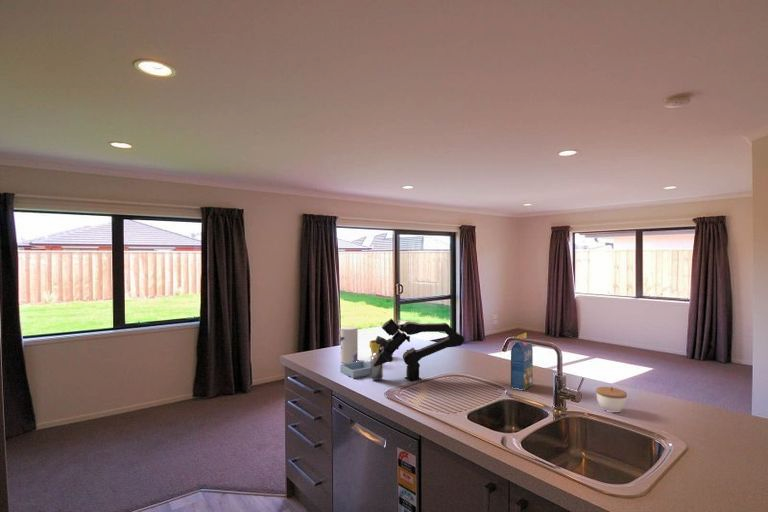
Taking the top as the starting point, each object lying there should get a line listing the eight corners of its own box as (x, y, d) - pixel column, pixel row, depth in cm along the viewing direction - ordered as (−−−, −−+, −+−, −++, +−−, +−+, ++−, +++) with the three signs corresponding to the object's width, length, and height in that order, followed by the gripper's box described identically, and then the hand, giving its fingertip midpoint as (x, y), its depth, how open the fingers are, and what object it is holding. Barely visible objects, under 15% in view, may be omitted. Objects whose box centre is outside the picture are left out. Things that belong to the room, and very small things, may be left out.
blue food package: (510, 388, 183) (510, 335, 183) (520, 382, 193) (520, 331, 193) (523, 391, 179) (523, 337, 179) (532, 384, 189) (532, 333, 189)
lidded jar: (611, 416, 151) (611, 392, 151) (590, 406, 161) (590, 384, 161) (633, 413, 154) (633, 390, 154) (611, 404, 164) (611, 381, 164)
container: (338, 360, 233) (338, 326, 233) (354, 358, 237) (354, 325, 237) (343, 364, 224) (343, 329, 224) (360, 362, 228) (360, 328, 228)
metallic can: (384, 377, 195) (384, 352, 195) (374, 380, 192) (374, 354, 192) (378, 374, 200) (378, 350, 200) (368, 376, 197) (368, 352, 197)
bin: (376, 374, 206) (376, 366, 206) (353, 378, 198) (353, 371, 198) (362, 367, 217) (362, 360, 217) (340, 372, 209) (340, 364, 209)
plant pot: (386, 359, 234) (386, 343, 234) (369, 359, 234) (369, 343, 234) (386, 355, 244) (386, 339, 244) (370, 355, 245) (370, 339, 245)
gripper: (383, 327, 206) (362, 348, 205) (386, 334, 187) (362, 358, 186) (398, 342, 206) (377, 363, 206) (402, 350, 188) (379, 374, 187)
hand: (373, 364), depth 196 cm, fingers closed on metallic can, 6 cm apart
